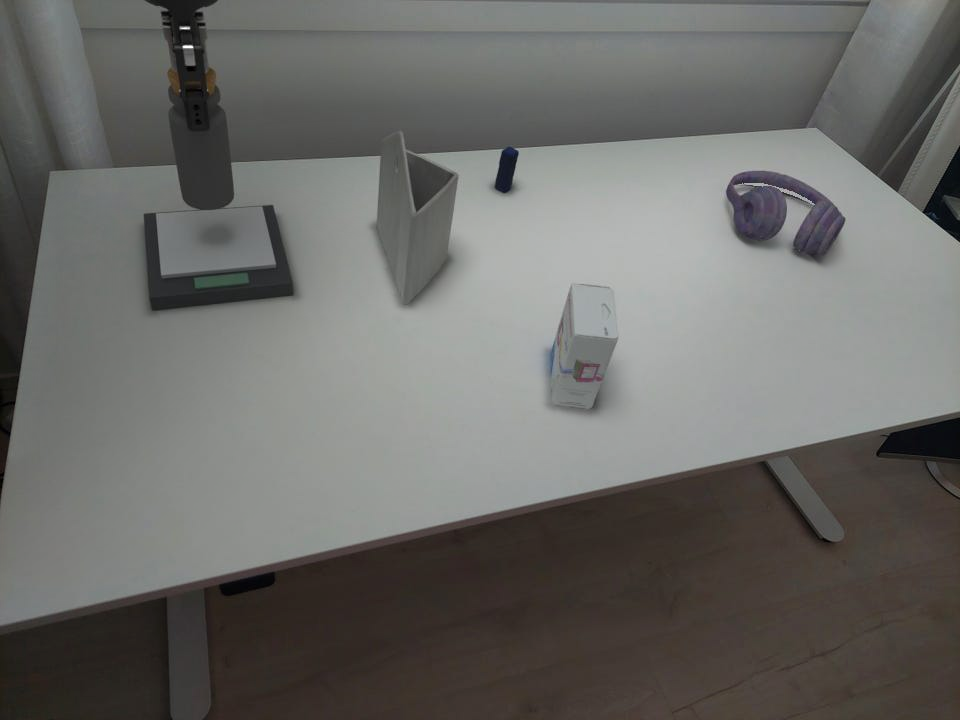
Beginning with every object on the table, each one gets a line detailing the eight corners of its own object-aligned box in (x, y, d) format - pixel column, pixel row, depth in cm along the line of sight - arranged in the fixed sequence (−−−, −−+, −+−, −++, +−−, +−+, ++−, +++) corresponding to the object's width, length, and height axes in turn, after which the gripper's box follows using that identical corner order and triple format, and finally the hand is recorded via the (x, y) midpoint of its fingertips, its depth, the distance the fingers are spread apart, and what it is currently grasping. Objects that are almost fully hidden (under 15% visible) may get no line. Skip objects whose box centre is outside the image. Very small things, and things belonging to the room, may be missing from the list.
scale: (152, 311, 83) (148, 293, 81) (146, 227, 93) (142, 209, 91) (293, 296, 88) (292, 278, 86) (273, 217, 98) (272, 200, 96)
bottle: (208, 176, 87) (192, 54, 76) (245, 195, 86) (234, 74, 75) (170, 196, 83) (147, 71, 72) (208, 217, 82) (190, 92, 71)
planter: (462, 299, 92) (486, 169, 78) (402, 305, 90) (416, 172, 76) (430, 223, 102) (446, 95, 89) (375, 226, 100) (383, 96, 86)
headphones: (839, 272, 109) (818, 218, 125) (867, 224, 104) (841, 174, 120) (721, 239, 110) (715, 190, 126) (743, 190, 105) (734, 145, 121)
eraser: (492, 188, 111) (500, 149, 106) (501, 183, 112) (509, 144, 107) (503, 195, 110) (512, 156, 105) (512, 189, 112) (520, 150, 107)
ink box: (547, 352, 88) (571, 279, 80) (587, 357, 89) (614, 285, 80) (549, 405, 82) (575, 332, 74) (592, 410, 83) (622, 339, 74)
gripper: (124, -89, 68) (155, 81, 80) (128, -30, 59) (162, 151, 71) (208, -84, 70) (225, 81, 82) (224, -26, 62) (241, 148, 74)
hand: (196, 113), depth 77 cm, fingers closed on bottle, 5 cm apart
